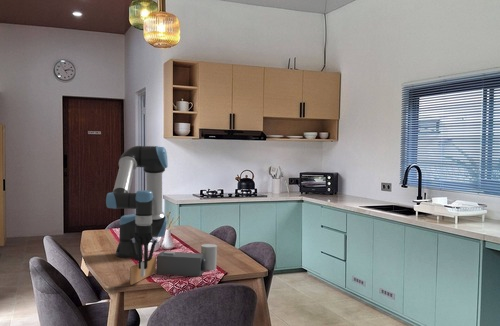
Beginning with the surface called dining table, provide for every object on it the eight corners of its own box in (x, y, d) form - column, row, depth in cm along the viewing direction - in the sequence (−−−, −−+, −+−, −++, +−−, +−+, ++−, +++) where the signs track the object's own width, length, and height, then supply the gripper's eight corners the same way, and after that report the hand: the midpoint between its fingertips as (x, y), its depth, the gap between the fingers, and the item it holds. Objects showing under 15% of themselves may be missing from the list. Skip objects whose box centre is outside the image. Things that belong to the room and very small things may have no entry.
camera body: (156, 273, 232) (156, 254, 232) (162, 268, 242) (162, 249, 242) (203, 276, 229) (203, 256, 229) (207, 271, 239) (207, 252, 239)
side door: (152, 272, 233) (153, 256, 232) (155, 272, 232) (156, 256, 232) (128, 284, 212) (129, 266, 211) (131, 284, 211) (132, 267, 211)
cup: (200, 266, 249) (201, 243, 249) (216, 266, 250) (216, 244, 249) (200, 270, 241) (201, 247, 241) (216, 270, 242) (217, 247, 241)
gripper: (127, 225, 211) (126, 277, 212) (156, 226, 211) (155, 278, 211) (131, 222, 218) (131, 273, 219) (159, 223, 218) (158, 274, 219)
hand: (142, 275), depth 215 cm, fingers closed
